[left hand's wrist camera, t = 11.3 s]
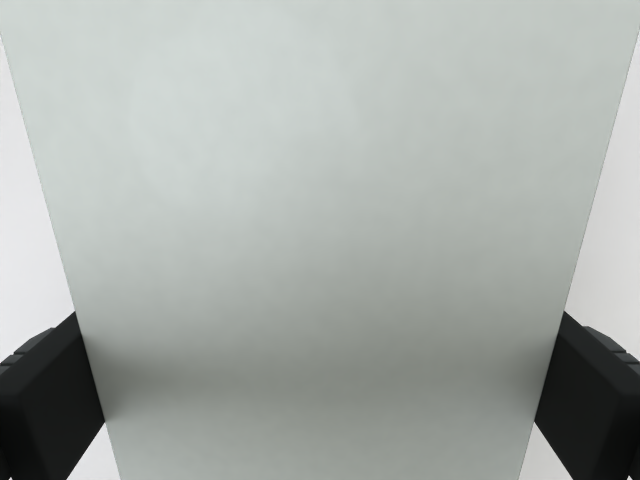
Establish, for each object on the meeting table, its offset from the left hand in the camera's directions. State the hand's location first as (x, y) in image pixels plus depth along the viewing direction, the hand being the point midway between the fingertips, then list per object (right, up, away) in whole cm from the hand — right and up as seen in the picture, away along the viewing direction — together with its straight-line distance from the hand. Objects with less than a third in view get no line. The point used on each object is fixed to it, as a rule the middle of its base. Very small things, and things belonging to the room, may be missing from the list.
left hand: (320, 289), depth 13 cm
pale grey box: (0, +6, +1) cm, 7 cm away
